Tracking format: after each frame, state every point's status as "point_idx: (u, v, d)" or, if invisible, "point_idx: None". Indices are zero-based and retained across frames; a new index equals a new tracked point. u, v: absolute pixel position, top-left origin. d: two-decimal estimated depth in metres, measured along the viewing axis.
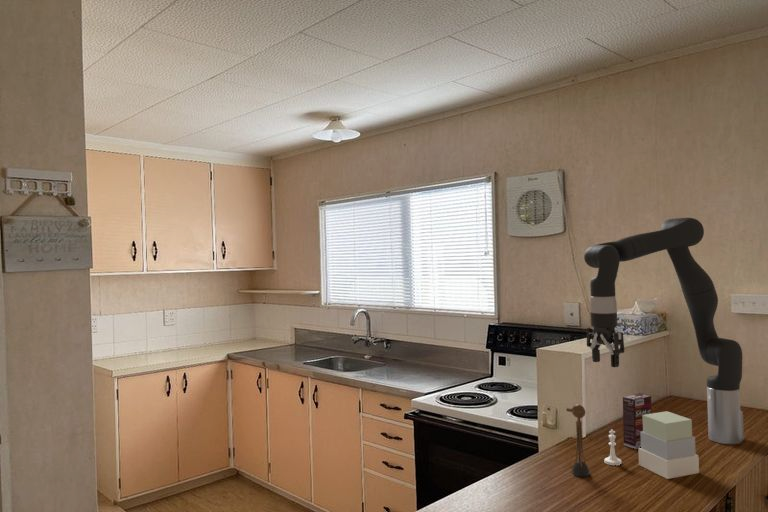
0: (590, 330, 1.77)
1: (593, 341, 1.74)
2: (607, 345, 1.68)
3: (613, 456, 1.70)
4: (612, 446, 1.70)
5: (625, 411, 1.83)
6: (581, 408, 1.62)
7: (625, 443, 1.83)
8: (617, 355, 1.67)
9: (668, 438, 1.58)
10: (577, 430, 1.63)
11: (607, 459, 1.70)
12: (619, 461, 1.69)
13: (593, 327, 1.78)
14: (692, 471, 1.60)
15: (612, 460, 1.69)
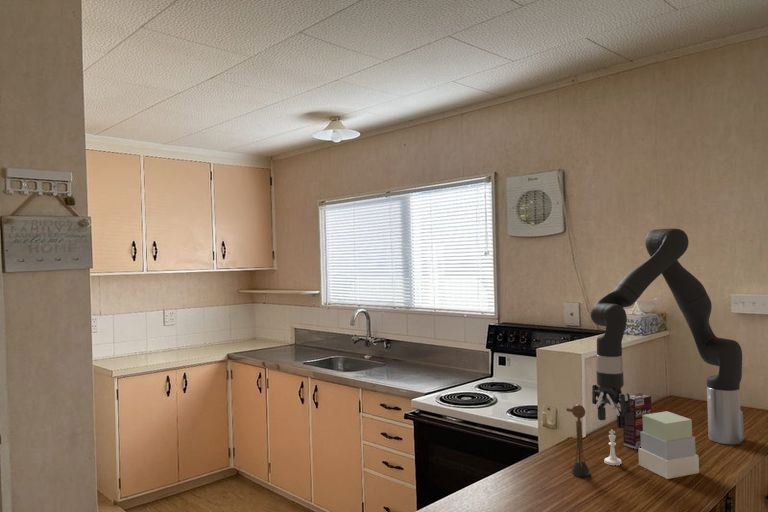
0: (596, 387, 1.75)
1: (599, 399, 1.73)
2: (613, 406, 1.66)
3: (613, 456, 1.70)
4: (612, 446, 1.70)
5: None
6: (581, 408, 1.62)
7: (625, 443, 1.83)
8: (623, 416, 1.65)
9: (668, 438, 1.58)
10: (577, 430, 1.63)
11: (607, 459, 1.70)
12: (619, 461, 1.69)
13: None
14: (692, 471, 1.60)
15: (612, 460, 1.69)
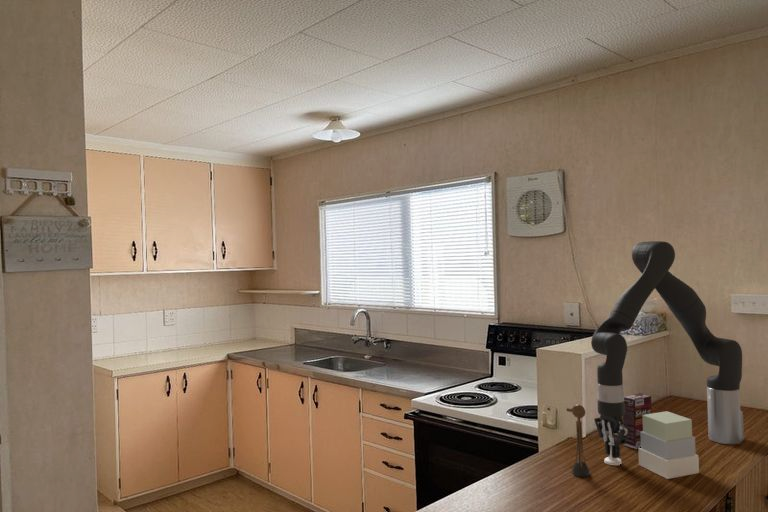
0: (598, 420, 1.75)
1: (603, 431, 1.71)
2: (610, 435, 1.68)
3: None
4: None
5: (625, 411, 1.83)
6: (581, 408, 1.62)
7: (625, 443, 1.83)
8: (618, 446, 1.68)
9: (668, 438, 1.58)
10: (577, 430, 1.63)
11: (607, 459, 1.70)
12: (619, 461, 1.69)
13: None
14: (692, 471, 1.60)
15: (612, 460, 1.69)
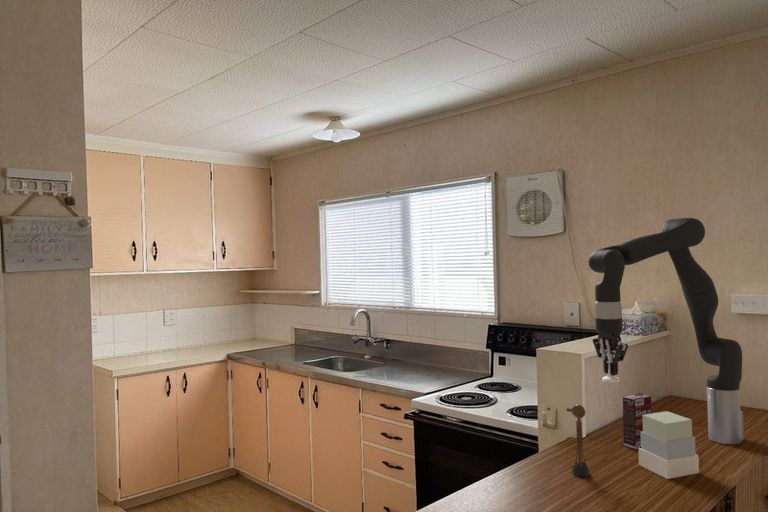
0: (596, 340, 1.75)
1: (601, 349, 1.71)
2: (609, 352, 1.68)
3: None
4: None
5: (625, 411, 1.83)
6: (581, 408, 1.62)
7: (625, 443, 1.83)
8: (616, 363, 1.68)
9: (668, 438, 1.58)
10: (577, 430, 1.63)
11: (605, 377, 1.70)
12: (617, 378, 1.68)
13: None
14: (692, 471, 1.60)
15: (610, 377, 1.69)
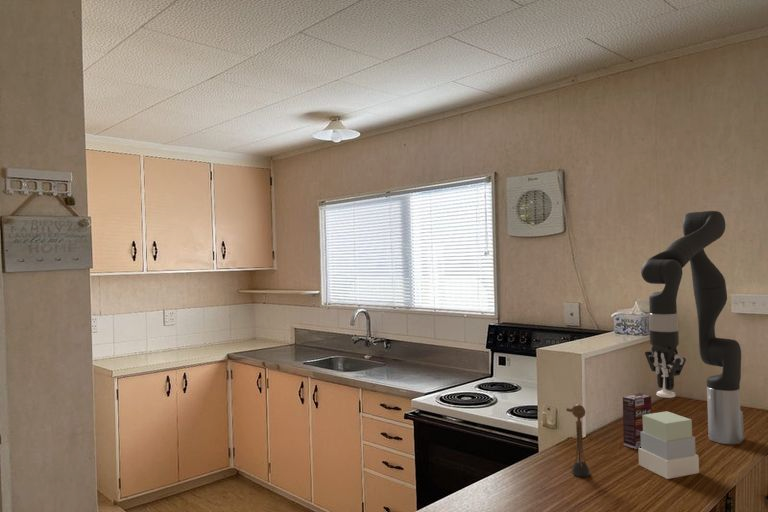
0: (649, 353, 1.68)
1: (656, 363, 1.65)
2: (664, 366, 1.62)
3: None
4: None
5: (625, 411, 1.83)
6: (581, 408, 1.62)
7: (625, 443, 1.83)
8: (672, 377, 1.61)
9: (668, 438, 1.58)
10: (577, 430, 1.63)
11: (660, 392, 1.64)
12: (673, 393, 1.62)
13: None
14: (692, 471, 1.60)
15: (666, 392, 1.62)
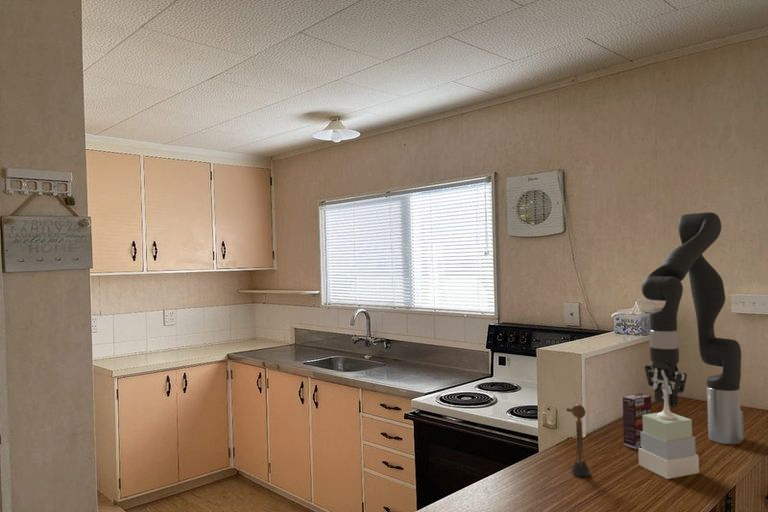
0: (648, 367, 1.69)
1: (654, 379, 1.65)
2: (666, 383, 1.61)
3: (667, 410, 1.63)
4: (666, 400, 1.63)
5: (625, 411, 1.83)
6: (581, 408, 1.62)
7: (625, 443, 1.83)
8: (675, 395, 1.60)
9: (668, 438, 1.58)
10: (577, 430, 1.63)
11: (660, 413, 1.64)
12: (673, 415, 1.62)
13: (651, 365, 1.70)
14: (692, 471, 1.60)
15: (666, 414, 1.63)
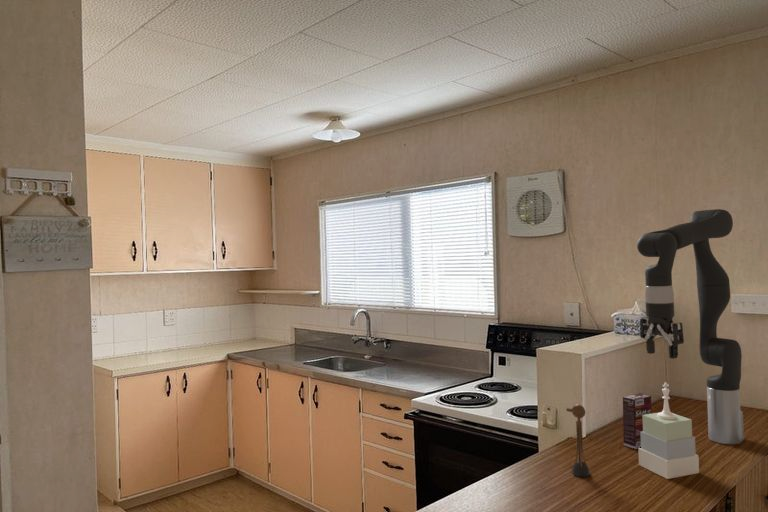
0: (644, 321, 1.72)
1: (648, 332, 1.69)
2: (665, 336, 1.63)
3: (667, 410, 1.63)
4: (666, 400, 1.63)
5: (625, 411, 1.83)
6: (581, 408, 1.62)
7: (625, 443, 1.83)
8: (676, 346, 1.62)
9: (668, 438, 1.58)
10: (577, 430, 1.63)
11: (660, 413, 1.64)
12: (673, 415, 1.62)
13: (647, 318, 1.73)
14: (692, 471, 1.60)
15: (666, 414, 1.63)
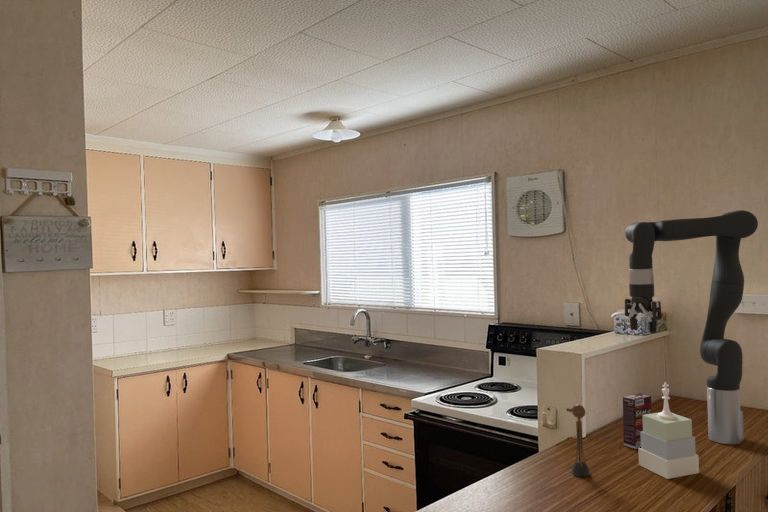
0: (628, 301, 1.93)
1: (631, 310, 1.90)
2: (645, 313, 1.84)
3: (667, 410, 1.63)
4: (666, 400, 1.63)
5: (625, 411, 1.83)
6: (581, 408, 1.62)
7: (625, 443, 1.83)
8: (655, 322, 1.83)
9: (668, 438, 1.58)
10: (577, 430, 1.63)
11: (660, 414, 1.64)
12: (673, 415, 1.62)
13: (631, 298, 1.94)
14: (692, 471, 1.60)
15: (666, 414, 1.63)
